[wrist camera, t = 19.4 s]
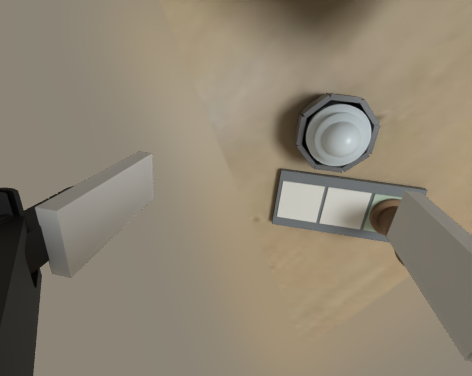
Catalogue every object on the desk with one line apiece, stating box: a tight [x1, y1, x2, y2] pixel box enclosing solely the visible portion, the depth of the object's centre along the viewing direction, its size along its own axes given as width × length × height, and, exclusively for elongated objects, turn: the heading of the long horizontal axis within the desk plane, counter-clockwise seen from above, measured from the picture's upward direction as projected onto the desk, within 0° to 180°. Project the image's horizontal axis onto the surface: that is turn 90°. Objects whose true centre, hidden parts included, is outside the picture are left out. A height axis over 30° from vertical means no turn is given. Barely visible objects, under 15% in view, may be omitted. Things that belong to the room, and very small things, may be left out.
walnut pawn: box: [369, 198, 405, 266], centre depth 33 cm, size 6×6×11 cm
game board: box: [272, 169, 427, 242], centre depth 39 cm, size 9×20×1 cm, turn 85°
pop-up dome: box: [305, 103, 371, 166], centre depth 30 cm, size 7×7×6 cm
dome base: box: [295, 93, 380, 173], centre depth 33 cm, size 9×9×4 cm
